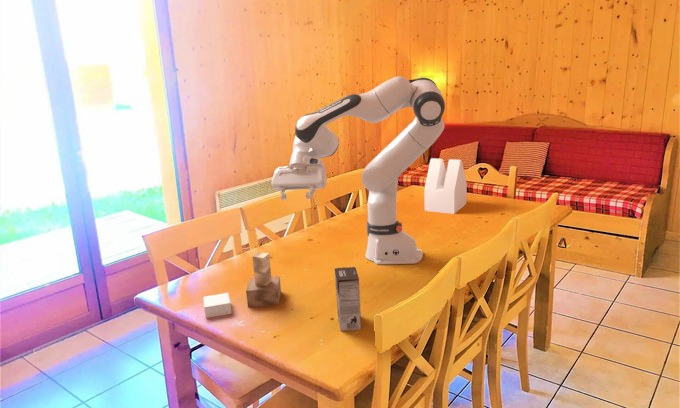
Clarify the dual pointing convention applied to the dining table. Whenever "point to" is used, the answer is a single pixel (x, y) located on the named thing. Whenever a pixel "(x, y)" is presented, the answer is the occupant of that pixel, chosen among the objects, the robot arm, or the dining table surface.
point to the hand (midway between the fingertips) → (295, 198)
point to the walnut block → (263, 293)
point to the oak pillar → (262, 269)
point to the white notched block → (445, 186)
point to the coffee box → (348, 298)
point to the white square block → (217, 305)
